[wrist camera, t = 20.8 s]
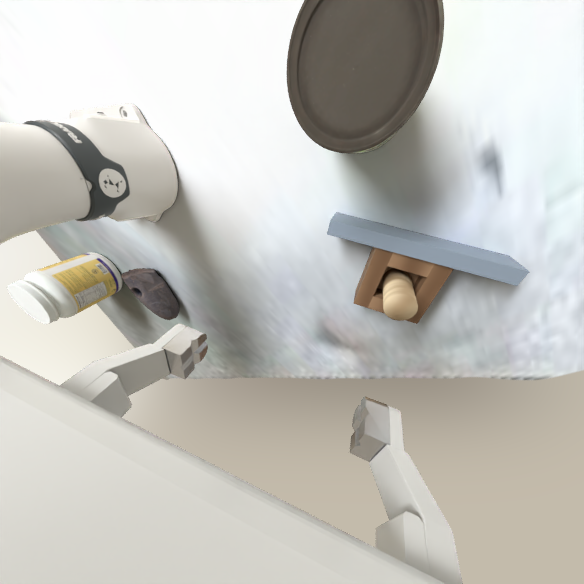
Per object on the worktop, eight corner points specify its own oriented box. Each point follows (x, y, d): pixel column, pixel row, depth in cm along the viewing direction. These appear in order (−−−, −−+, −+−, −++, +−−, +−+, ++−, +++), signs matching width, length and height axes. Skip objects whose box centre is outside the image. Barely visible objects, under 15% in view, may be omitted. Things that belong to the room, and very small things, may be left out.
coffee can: (383, 165, 29) (386, 172, 18) (312, 137, 30) (272, 128, 19) (435, 57, 23) (490, -37, 12) (344, 27, 24) (313, -85, 13)
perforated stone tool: (189, 309, 58) (169, 326, 52) (177, 312, 60) (156, 329, 55) (153, 258, 52) (126, 271, 47) (141, 264, 55) (114, 276, 49)
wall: (332, 225, 35) (327, 234, 31) (336, 212, 34) (330, 220, 30) (498, 268, 31) (516, 285, 27) (509, 255, 30) (529, 271, 26)
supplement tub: (95, 281, 65) (21, 315, 52) (81, 244, 58) (-9, 271, 45) (129, 296, 64) (61, 335, 50) (119, 259, 57) (37, 293, 43)
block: (355, 289, 40) (353, 303, 36) (377, 236, 34) (376, 246, 30) (413, 307, 38) (417, 323, 34) (446, 254, 32) (454, 267, 28)
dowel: (378, 286, 36) (378, 314, 30) (388, 264, 34) (390, 290, 28) (403, 293, 36) (408, 324, 29) (415, 272, 33) (424, 300, 27)
